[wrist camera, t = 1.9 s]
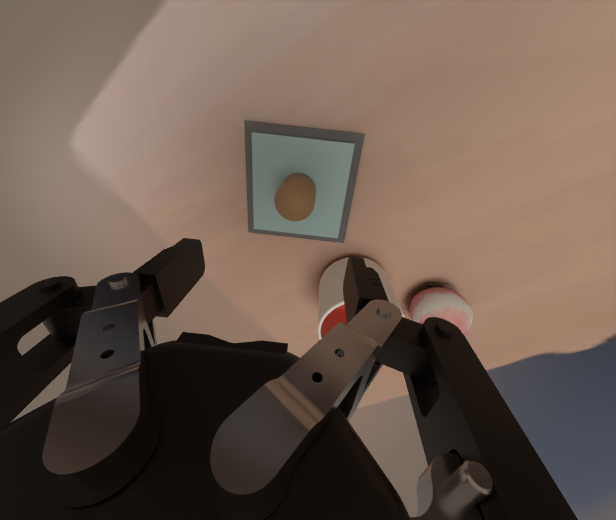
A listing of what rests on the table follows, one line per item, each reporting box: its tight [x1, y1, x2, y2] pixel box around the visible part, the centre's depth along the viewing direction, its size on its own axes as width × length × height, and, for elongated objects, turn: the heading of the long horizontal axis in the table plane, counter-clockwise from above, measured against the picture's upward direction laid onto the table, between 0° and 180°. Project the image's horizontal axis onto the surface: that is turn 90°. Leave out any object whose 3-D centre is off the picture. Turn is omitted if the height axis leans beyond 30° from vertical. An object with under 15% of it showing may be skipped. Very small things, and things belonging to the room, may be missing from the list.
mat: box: [245, 121, 365, 243], centre depth 28 cm, size 13×13×1 cm
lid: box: [252, 132, 355, 238], centre depth 25 cm, size 11×11×6 cm
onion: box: [410, 283, 473, 335], centre depth 32 cm, size 8×8×7 cm
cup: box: [318, 257, 405, 339], centre depth 30 cm, size 10×10×10 cm
